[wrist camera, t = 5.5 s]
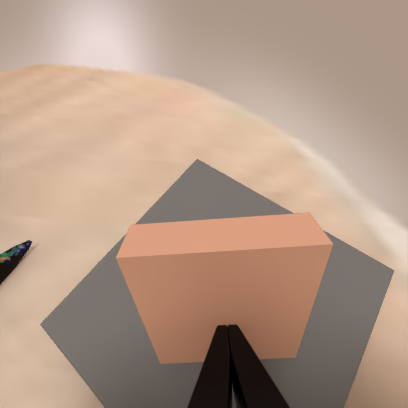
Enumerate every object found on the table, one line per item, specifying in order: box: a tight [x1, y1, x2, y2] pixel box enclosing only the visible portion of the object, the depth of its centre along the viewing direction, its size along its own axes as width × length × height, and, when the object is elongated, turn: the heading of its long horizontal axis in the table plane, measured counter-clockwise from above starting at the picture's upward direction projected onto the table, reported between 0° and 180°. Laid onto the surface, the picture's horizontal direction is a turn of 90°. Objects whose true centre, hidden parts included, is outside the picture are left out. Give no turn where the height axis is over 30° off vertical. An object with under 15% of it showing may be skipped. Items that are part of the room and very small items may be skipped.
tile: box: [116, 213, 333, 364], centre depth 11 cm, size 2×8×9 cm, turn 92°
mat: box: [40, 159, 394, 408], centre depth 16 cm, size 18×18×1 cm
